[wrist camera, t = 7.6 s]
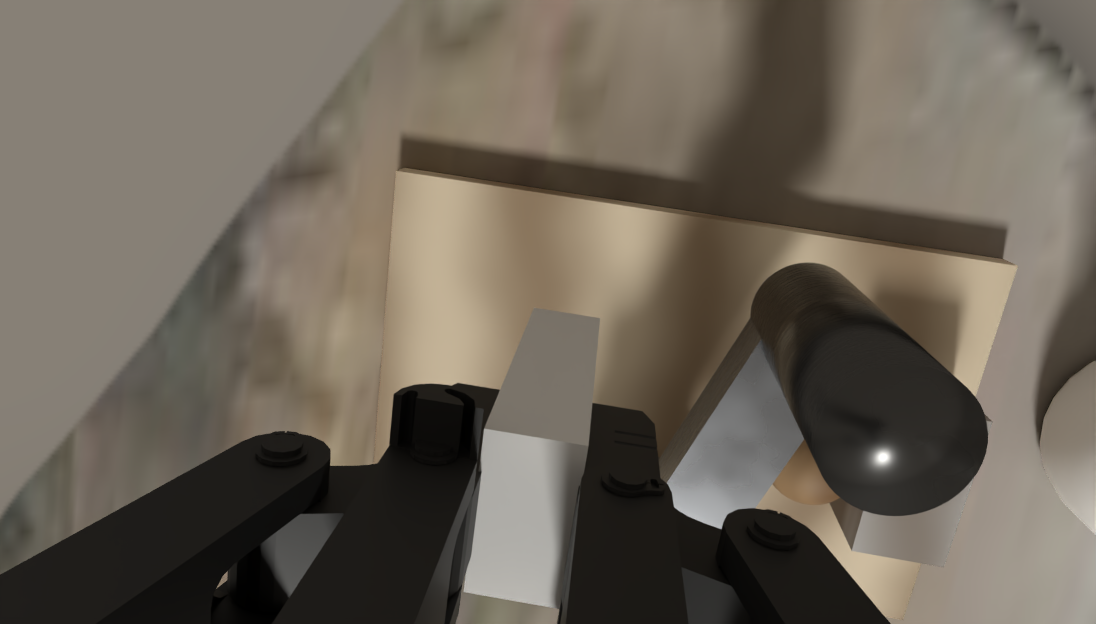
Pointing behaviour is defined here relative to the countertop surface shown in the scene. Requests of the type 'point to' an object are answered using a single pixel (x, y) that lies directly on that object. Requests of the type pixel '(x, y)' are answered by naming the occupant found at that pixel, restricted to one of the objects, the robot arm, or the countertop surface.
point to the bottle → (1073, 444)
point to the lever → (825, 408)
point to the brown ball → (804, 480)
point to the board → (664, 319)
